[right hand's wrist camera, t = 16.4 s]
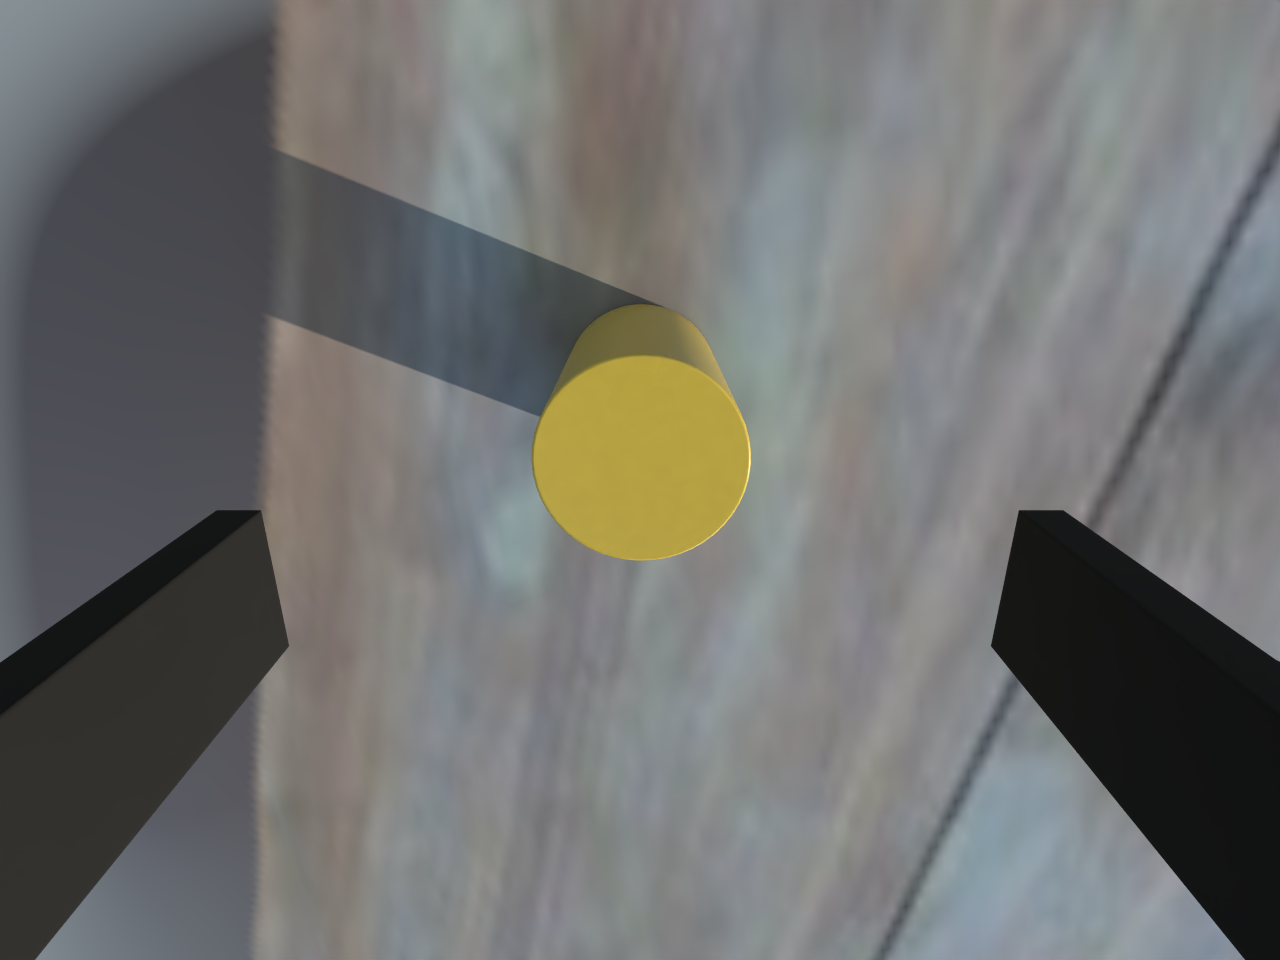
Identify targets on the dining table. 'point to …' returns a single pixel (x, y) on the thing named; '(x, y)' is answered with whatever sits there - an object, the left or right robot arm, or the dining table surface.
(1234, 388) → the dining table surface
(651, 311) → the canister
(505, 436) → the dining table surface
